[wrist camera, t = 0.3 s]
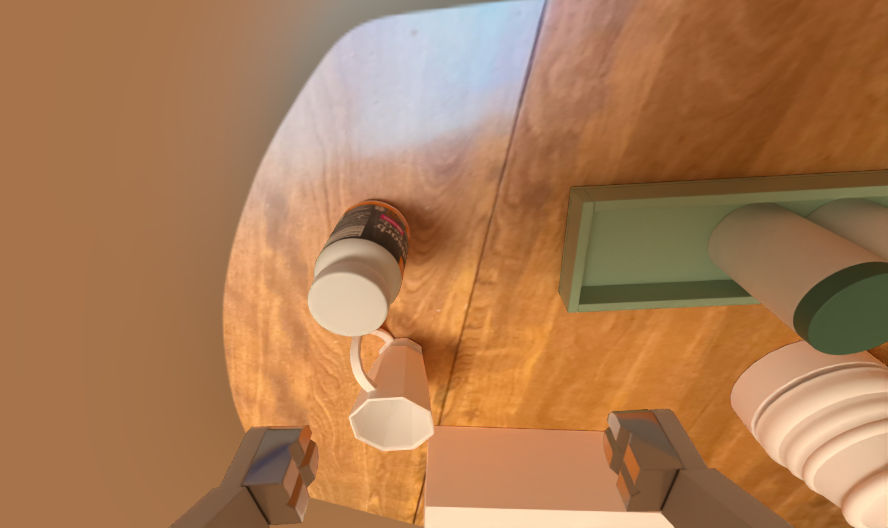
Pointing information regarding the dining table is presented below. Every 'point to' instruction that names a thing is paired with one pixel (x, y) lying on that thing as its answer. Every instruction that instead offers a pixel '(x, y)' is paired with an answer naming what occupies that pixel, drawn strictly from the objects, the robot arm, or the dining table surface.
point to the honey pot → (823, 424)
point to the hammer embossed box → (524, 481)
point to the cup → (391, 395)
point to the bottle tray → (677, 236)
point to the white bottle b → (856, 223)
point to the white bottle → (805, 277)
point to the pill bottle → (360, 269)
